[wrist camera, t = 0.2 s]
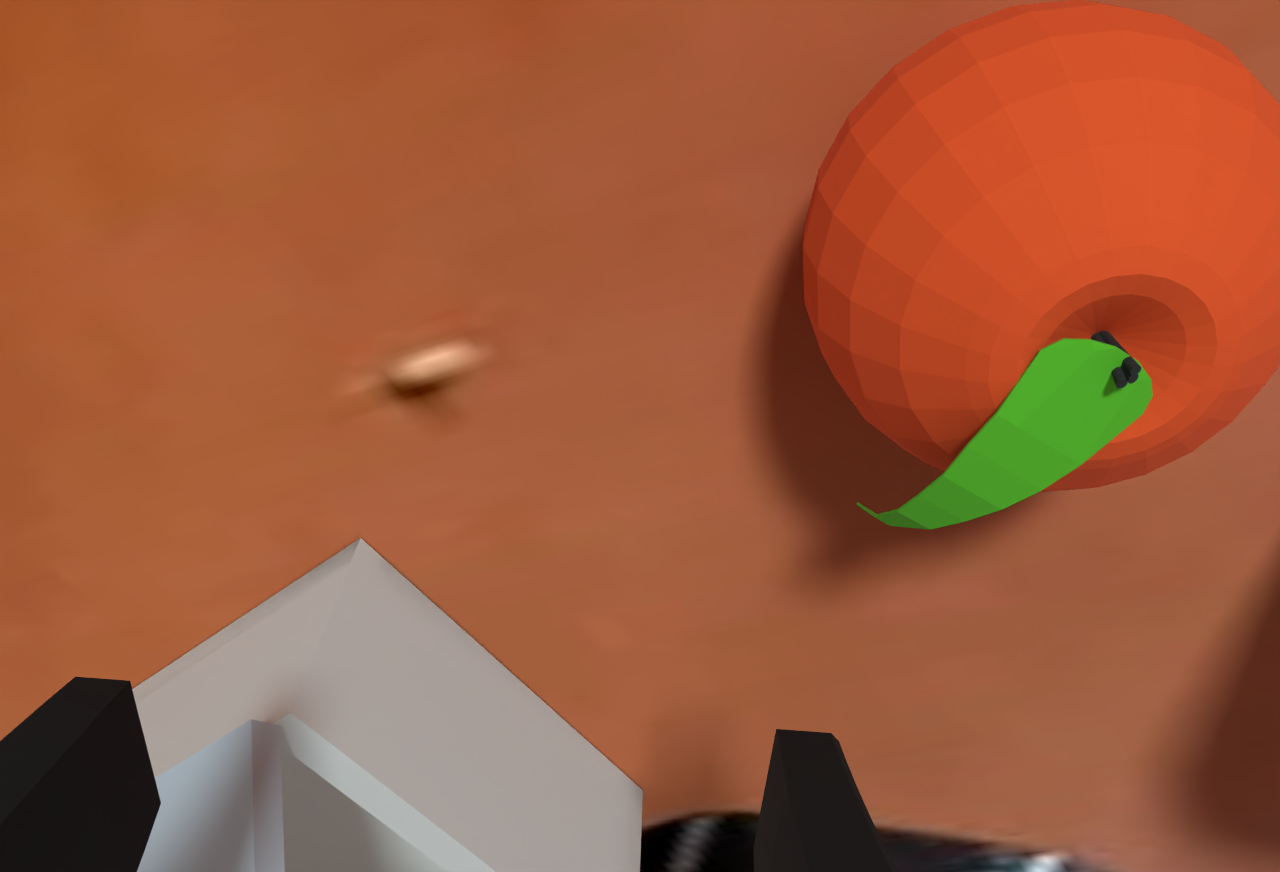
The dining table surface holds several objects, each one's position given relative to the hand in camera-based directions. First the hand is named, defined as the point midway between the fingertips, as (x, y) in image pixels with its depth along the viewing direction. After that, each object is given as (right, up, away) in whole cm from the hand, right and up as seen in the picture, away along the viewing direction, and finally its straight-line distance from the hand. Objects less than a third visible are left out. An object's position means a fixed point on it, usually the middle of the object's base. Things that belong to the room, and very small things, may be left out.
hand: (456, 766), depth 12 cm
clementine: (+8, +8, +7) cm, 13 cm away
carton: (-6, -5, +15) cm, 17 cm away
